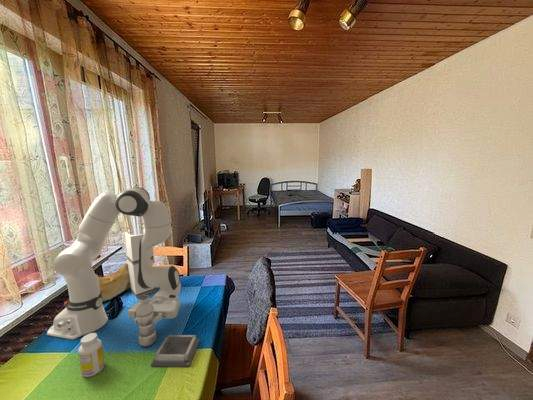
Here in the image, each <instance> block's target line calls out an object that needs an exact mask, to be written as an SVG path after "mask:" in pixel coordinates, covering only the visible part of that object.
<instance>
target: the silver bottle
mask: <svg viewBox="0 0 533 400" xmlns="http://www.w3.org/2000/svg"><path fill="white" fill-rule="evenodd" d="M150 300H151V299H150V296H149V295H148V294H147V295H144V296H141V297H138V302H139V306H138V307H137V309H136V316H137V319H138V324H137V325H138V345H140V346H142V347H150V346H151V345H153V344H155V342H156V340H157V331H156V328H155V324H151V320H152V319H153V314H154V307H153V305H152V304H151V303H150V302H149V301H150Z"/></svg>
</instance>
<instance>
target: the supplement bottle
mask: <svg viewBox="0 0 533 400" xmlns="http://www.w3.org/2000/svg"><path fill="white" fill-rule="evenodd" d="M77 351H78V358H79V364H80V372H81V374H82V376H83V377H85V378H87V377H88V378H89V377H93V376H95V375H97V374H98V373H100V372H101V371H102V370H103V369H104V367H105V357H104V352H103V344H102V340H101V339H99V338H98V334H97V332H91V333H88V334H85V335H83V337H82V338H81V339H80V346H79V348H78V350H77Z"/></svg>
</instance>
